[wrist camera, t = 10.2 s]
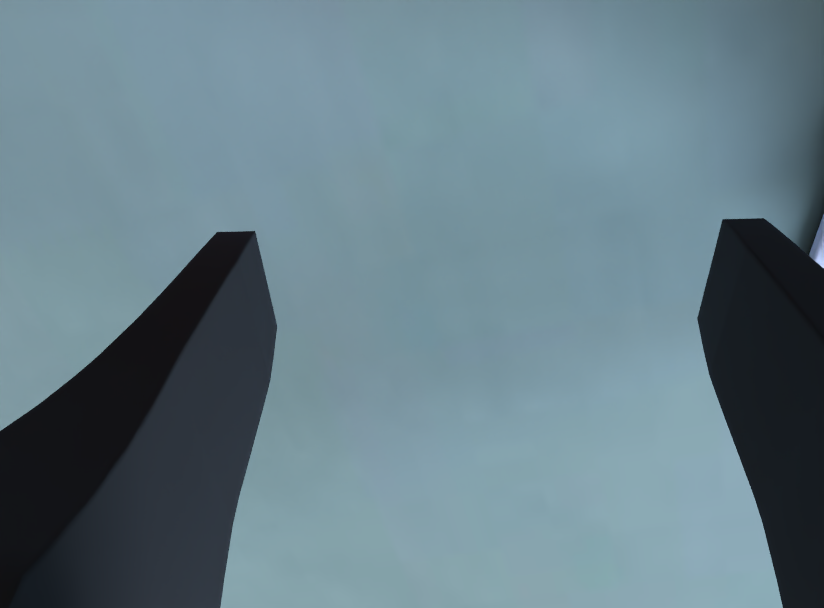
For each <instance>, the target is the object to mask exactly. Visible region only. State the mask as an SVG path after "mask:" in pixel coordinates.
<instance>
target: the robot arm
mask: <svg viewBox="0 0 824 608" xmlns="http://www.w3.org/2000/svg"><path fill="white" fill-rule="evenodd" d="M698 324H699V329H700V334H701V339H702V344H703V349H704V353H705V358H706V362H707V366H708V371H709V375H710V378H711V381H712V384H713V386H714V389H715V392H716V395H717V398H718V400H719V403H720V406H721V409H722V411H723V414H724V417H725V419H726V422H727V425H728V428H729V430H730V433H731V436H732V438H733V441H734V444H735V446H736V449H737V452H738V454H739V457H740V460H741V462H742V465H743V468H744V470H745V473H746V476H747V478H748V481H749V484H750V486H751V489H752V492H753V494H754V497H755V501H756V504H757V507H758V510H759V513H760V516H761V519H762V522H763V526H764V530H765V534H766V538H767V542H768V546H769V550H770V554H771V558H772V562H773V566H774V570H775V574H776V578H777V583H778V587H779V592H780V596H781V601H782V605H783V608H824V215H823V217H822V220H821V223H820V226H819V229H818V231H817V234H816V237H815V240H814V243H813V245H812V248H811V251H810V254H809V256H808V255H807V254H806V253H805V252H804V251H803V250H801V249H800V248H799V247H798V246H797V245H796V244H795V243H793V242H792V241H791V240H790V239H789V238H788V237H786V236H785V235H784V234H783V233H782V232H780V231H779V230H778V229H777V228H776V227H774V226H773V225H772V224H771V223H769V222H768V221H767V220H765V219H764V218H761V219H723V220H722V224H721V228H720V232H719V236H718V240H717V244H716V248H715V252H714V256H713V260H712V264H711V268H710V272H709V275H708V279H707V283H706V287H705V291H704V295H703V299H702V303H701V307H700V311H699V315H698ZM276 331H277V324H276V319H275V315H274V311H273V307H272V302H271V298H270V294H269V289H268V285H267V281H266V276H265V272H264V268H263V263H262V259H261V255H260V251H259V246H258V242H257V238H256V233H255V231H245V232H217V233H216V234H215V235H214V236H213V237H212V238H211V239H210V240H209V241H208V243H207V244H206V245H205V246H204V247H203V248H202V249H201V250H200V251H199V252H198V253H197V254H196V256H195V257H194V258H193V259H192V260H191V261H190V262H189V263H188V265H187V266H186V267H185V268H184V269H183V270H182V271H181V272H180V273H179V274H178V276H177V277H176V278H175V279H174V280H173V281H172V282H171V283H170V284H169V286H168V287H167V288H166V289H165V290H164V291H163V292H162V293H161V294H160V295H159V296H158V297H157V298H156V299H155V300H154V301H153V303H152V304H151V305H150V306H149V307H148V308H147V309H146V310H145V311H144V312H143V313H142V314H141V315H140V316H139V317H138V318H137V319H136V320H135V321H134V322H133V323H132V324H131V325H130V326H129V327H128V328H127V329H126V330H125V331H124V332H123V333H122V334H121V335H120V336H119V337H118V338H117V339H115V340H114V341H113V342H112V343H111V344H110V345H109V346H108V347H107V348H106V349H105V350H104V351H103V352H102V353H101V354H100V355H99V356H98V357H96V358H95V359H94V360H93V361H92V362H91V363H90V364H89V365H87V366H86V367H85V368H84V369H83V370H81V371H80V372H79V373H78V374H77V375H76V376H74V377H73V378H72V379H71V380H69V381H68V382H67V383H66V384H64V385H63V386H62V387H61V388H59V389H58V390H57V391H56V392H54V393H53V394H52V395H50V396H49V397H48V398H47V399H45V400H44V401H43V402H41V403H40V404H39V405H37V406H36V407H35V408H33V409H32V410H30V411H29V412H27V413H26V414H24V415H23V416H22V417H20V418H19V419H17V420H16V421H14V422H13V423H11V424H10V425H9V426H7V427H6V428H4V429H3V430H1V431H0V608H220V605H221V598H222V591H223V583H224V577H225V570H226V564H227V558H228V551H229V545H230V539H231V532H232V526H233V521H234V517H235V512H236V508H237V503H238V499H239V495H240V491H241V487H242V484H243V480H244V476H245V473H246V469H247V465H248V462H249V458H250V454H251V451H252V447H253V443H254V440H255V436H256V432H257V429H258V425H259V421H260V417H261V414H262V410H263V406H264V402H265V399H266V395H267V391H268V387H269V383H270V378H271V370H272V363H273V356H274V348H275V339H276Z"/></svg>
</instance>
